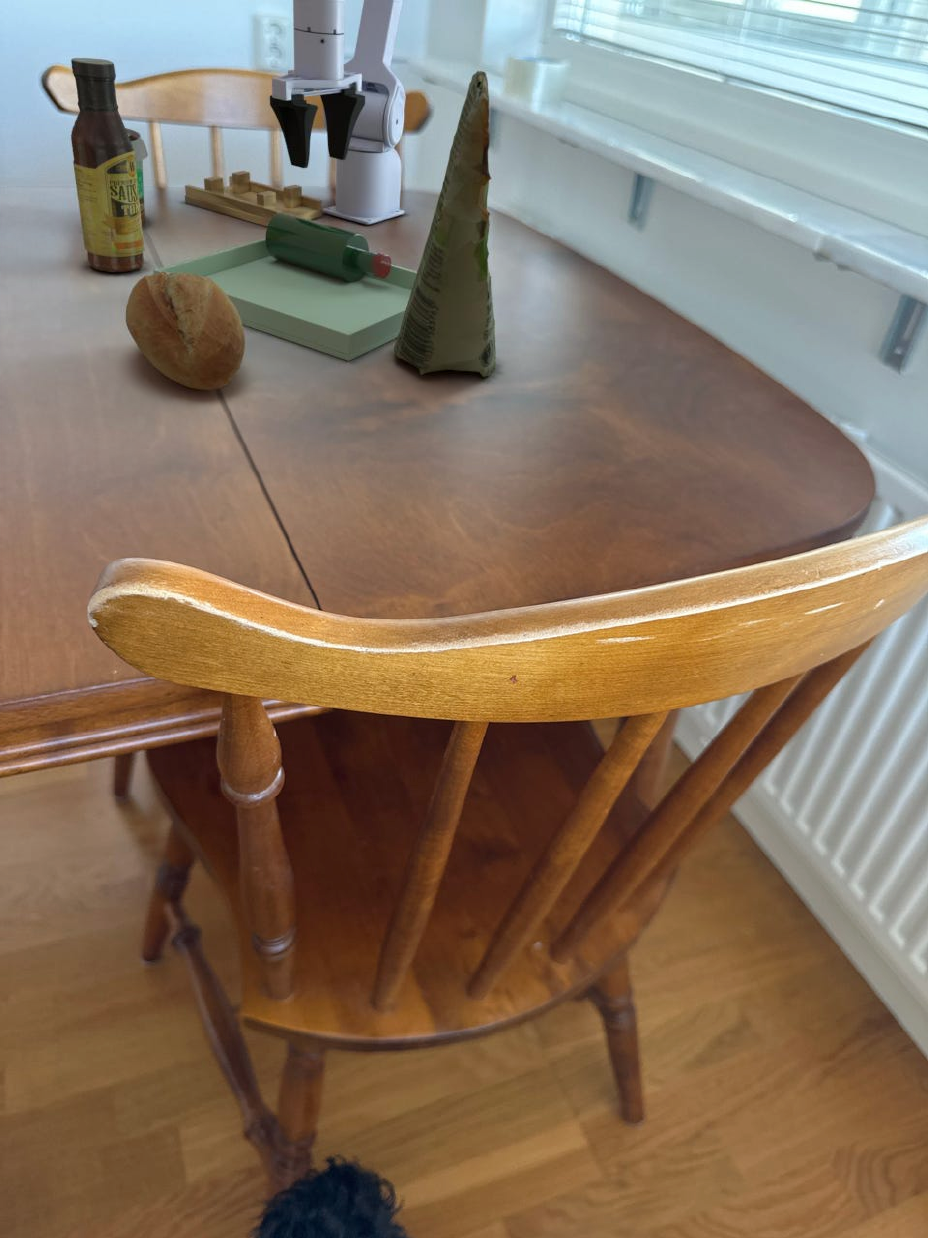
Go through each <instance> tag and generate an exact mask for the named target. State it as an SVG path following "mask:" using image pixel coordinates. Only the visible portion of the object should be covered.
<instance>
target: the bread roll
mask: <svg viewBox="0 0 928 1238" xmlns="http://www.w3.org/2000/svg"><path fill="white" fill-rule="evenodd" d="M125 308H126V309H125V324H126V327H127V330H128V332H129V335H131V337H132V339H133V341H134V342H135V344H136V345H137V347H138V349H139V350H140V352H141V353H142V355H144V357H145V358H146V359H147V360H148V361H149V362H150V364H151V365H152V366H153V367H154V368H155V369H156V370H157V371H158V372H159V373H161V374H162V375H163V376H165V377H167V378H169V379H170V380H172V381H174V382H175V383H177V384H179V385H180V384H181V385H182V386H185V387H187V388H189V389H194V390H201V391H211V390H218V389H221V388H224V387H225V386H226V385H228V384H230V382H231V381H232V380H233V378H234V377H235V376H236V374H237V373H238V371H239V370H240V367H241V364H242V361H243V358H244V354H245V348H246V336H245V329H244V325H243V324H242V321H241V319H240V316H239V314H238V311H237V309H236V308H235V306H234V305H233V303H232V302H231V300H230V299H229V297H228V296H227V295H226V293H225V292H224V291H223V290H222V289H221V288H220V287H219V286H218V285H217V284H216V283H215V282H213V281H212V280H211V279H210V278H207V277H201V276H198V275H194V274H188V273H175V274H174V273H170V274H169V275H167V274H166V272H164V271H163V272H160V273H157V274H154V273H153V274H151V275H144V276H143V277H142V278H140V279H139V280H138V281H137V282H136V284H135V285H133V287H132V289H131V292H130V294H129V296H128V299H127V303H126V307H125Z"/></svg>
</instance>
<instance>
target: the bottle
mask: <svg viewBox="0 0 928 1238" xmlns="http://www.w3.org/2000/svg"><path fill="white" fill-rule="evenodd" d="M264 238H265V241H266V247H267V250H268V253H269V254H270V255H271V256H272V257H273V258H275V259H278V260H281V261H284V262H287V263H291V264H294V265H297V266H300V267H304V268H307V269H310V270H313V271H317V272H320V273H323V274H326V275H329V276H333V277H336V278H339V279H342V280H346V281H349V282H355V281H357V280H358V279H360V278H361V276H362V275H363V273H364V272H367V273H370V274H373V276H375V277H377V278H380V279H385V278H386V277H387V276H388V275H389V273H390V270H391V264H392V258H391V257H390V255H388V254H386V253H382V252H378V253H376V252H372V251H370V249H369V247H370V246H369V243H368V240H367V238H366V237H365V236H364V234H363V235H362V234H361V233H357V232H354V231H350V230H347V229H343V228H340V227H336V226H333V225H329V224H327V223H322V222H318V221H315V220H313V219H311V220H308V219H305V218H301V217H298V216H294V215H291V214H287V213H284V212H280V213H277V214H276V215H274V216H273V217H272V219H271V220H270V222H269V224H268V226H266V230H265V237H264Z"/></svg>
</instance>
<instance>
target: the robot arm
mask: <svg viewBox="0 0 928 1238" xmlns="http://www.w3.org/2000/svg"><path fill="white" fill-rule="evenodd" d="M403 1H404V0H363V3H362V4H363V5H362V9H361V14H360V15H361V16H360V21H359V26H358V32H357V36H356V37H357V38H356V44H355V47H354V55H353V57H352V58H351V59H350V60H349V61H347V62H345V21H346V18H345V16H346V15H345V14H346V13H345V11H346V0H292V20H293V23H292V25H293V69H288V70H287V74H284V75H282V76H278V77H277V76H276V77H272V78H271V95H269V106H270V108H271V110H272V112H273V113H274V115H275V117H276V120H277V122H278V124H279V126H280V129H281V131H282V135H283V138H284V141H285V145H286V149H287V154H288V157H289V162H290V165H291V166H292V167H296V168H297V167H298V168H301V169H308V167H309V163H310V155H311V140H312V139H311V137H312V131H313V126H314V122H315V118H316V115H317V113H318V110H319V106H318V105H315V104H311V103H307V100H306V99H305V97H306V98H307V97H315V96H319V97H320V101H321V104H322V121H323V122H322V123H323V126H324V129H325V131H326V137H327V138H326V139H327V150H328V151H327V152H328V156H329V158H332V159H335V205H332V206H329V207H325V208H322V214H326V215H331V216H334V217H337V218H342V219H345V220H348V221H351V222H356V223H359V224H363V225H369V226H370V225H373V224H376V223H379V222H383V221H385V220H390V219H392V218H396V217H399V216H401V215H404V214H405V210H404V209H401V207H400V206H401V189H402V188H401V187H402V171H403V169H402V167H403V166H402V161H401V158H400V155H399V153H398V151H397V150H396V148H395V147H396V146H397V144H398V143H399V142H400V141H401V138H402V135H403V132H404V126H405V125H404V124H405V108H406V107H405V105H406V99H407V98H406V96H407V95H406V93H405V88H404V86H403V83H402V82H401V81H400V79H399V78H398V77H397V76H396V74H395V73H394V72H393V71H392V70H391V64H392V59H393V54H394V50H395V44H396V38H397V33H398V27H399V22H400V17H401V16H400V15H401V12H402V6H403Z"/></svg>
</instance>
